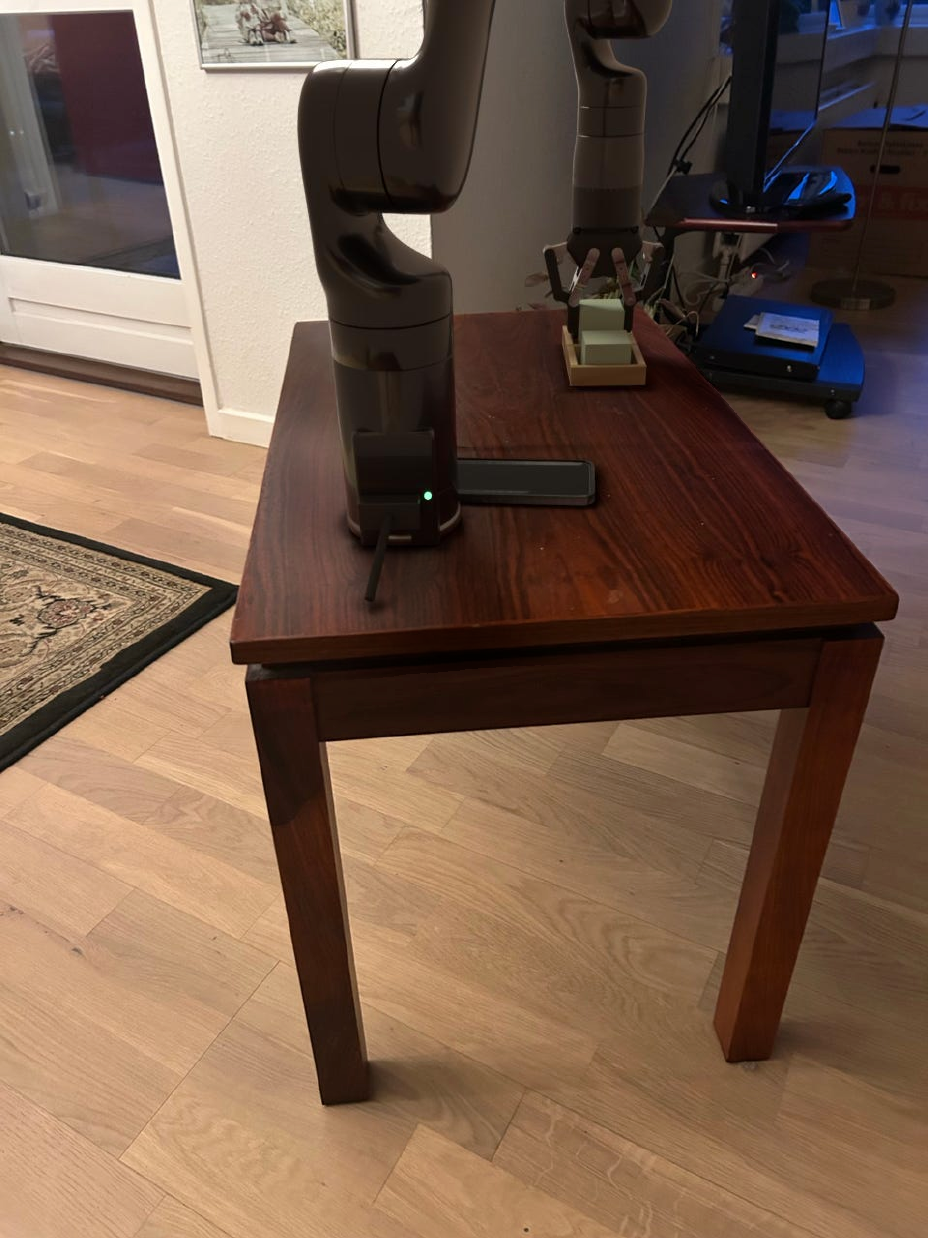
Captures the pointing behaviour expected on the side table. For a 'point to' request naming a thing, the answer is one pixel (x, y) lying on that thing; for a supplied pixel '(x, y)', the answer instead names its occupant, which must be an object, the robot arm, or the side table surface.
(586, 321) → the green block
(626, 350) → the green foam block
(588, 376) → the holder
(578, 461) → the phone
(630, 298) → the robot arm
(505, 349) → the side table surface
